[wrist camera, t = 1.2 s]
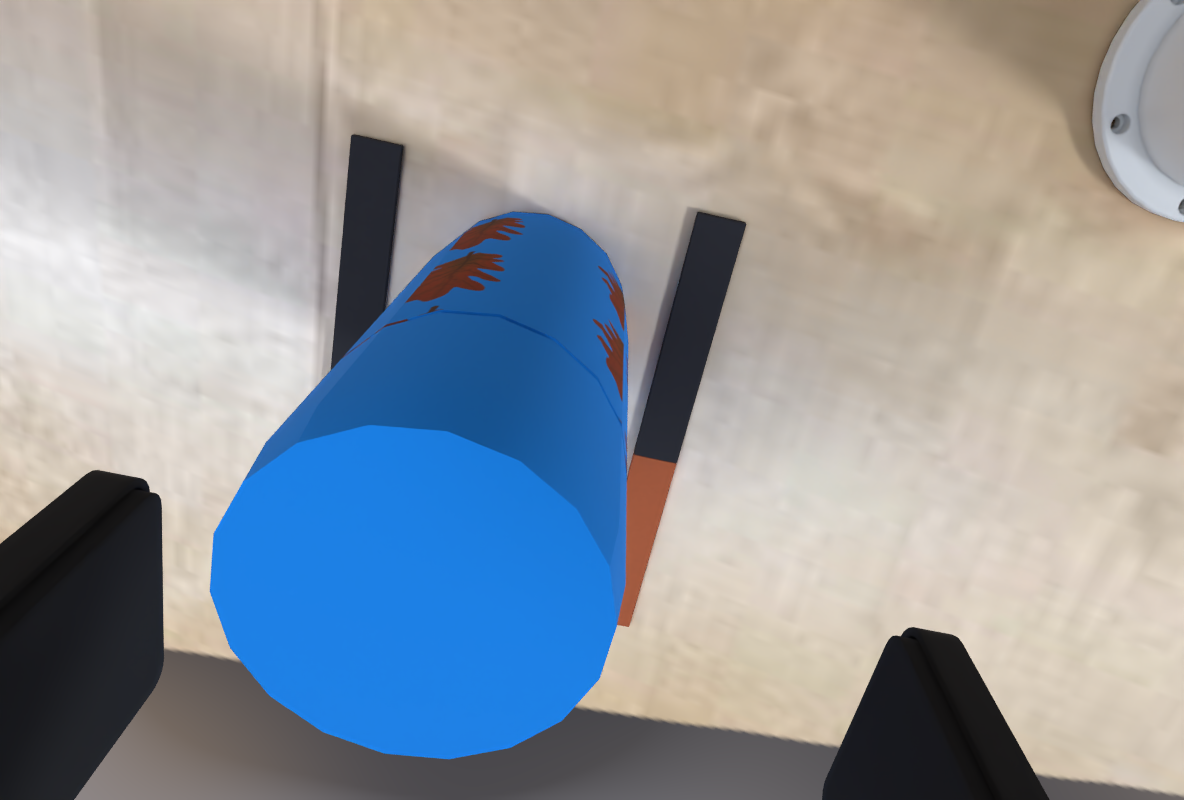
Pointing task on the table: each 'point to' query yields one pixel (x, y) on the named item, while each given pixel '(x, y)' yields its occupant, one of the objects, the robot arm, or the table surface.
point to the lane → (678, 359)
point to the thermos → (446, 506)
